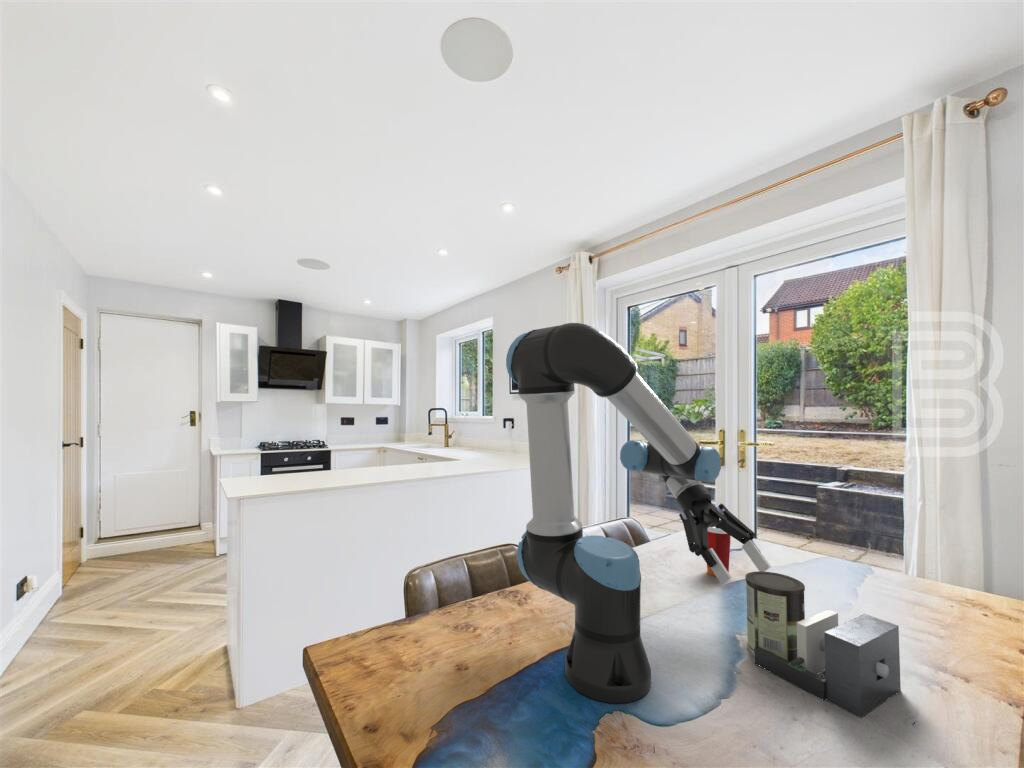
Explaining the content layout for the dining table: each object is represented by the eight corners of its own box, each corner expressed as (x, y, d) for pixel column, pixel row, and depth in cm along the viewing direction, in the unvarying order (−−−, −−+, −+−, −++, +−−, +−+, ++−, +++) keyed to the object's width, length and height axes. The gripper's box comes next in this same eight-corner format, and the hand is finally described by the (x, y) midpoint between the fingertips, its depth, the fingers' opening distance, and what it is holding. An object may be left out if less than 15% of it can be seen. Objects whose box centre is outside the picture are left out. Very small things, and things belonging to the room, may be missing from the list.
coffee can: (793, 641, 93) (791, 572, 93) (816, 670, 82) (814, 593, 83) (739, 636, 95) (738, 568, 95) (756, 663, 85) (754, 588, 85)
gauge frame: (754, 663, 84) (753, 604, 85) (797, 644, 92) (796, 589, 92) (859, 719, 70) (857, 647, 70) (900, 690, 77) (898, 625, 77)
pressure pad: (788, 678, 78) (787, 626, 79) (829, 657, 85) (828, 609, 85) (861, 717, 69) (859, 657, 69) (901, 689, 75) (899, 635, 76)
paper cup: (733, 572, 131) (733, 524, 132) (730, 581, 125) (730, 530, 125) (705, 567, 135) (704, 520, 136) (700, 575, 129) (700, 526, 130)
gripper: (713, 496, 117) (769, 573, 103) (643, 504, 105) (696, 593, 92) (731, 479, 113) (792, 557, 99) (661, 486, 101) (719, 576, 87)
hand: (746, 575), depth 95 cm, fingers open, 13 cm apart
